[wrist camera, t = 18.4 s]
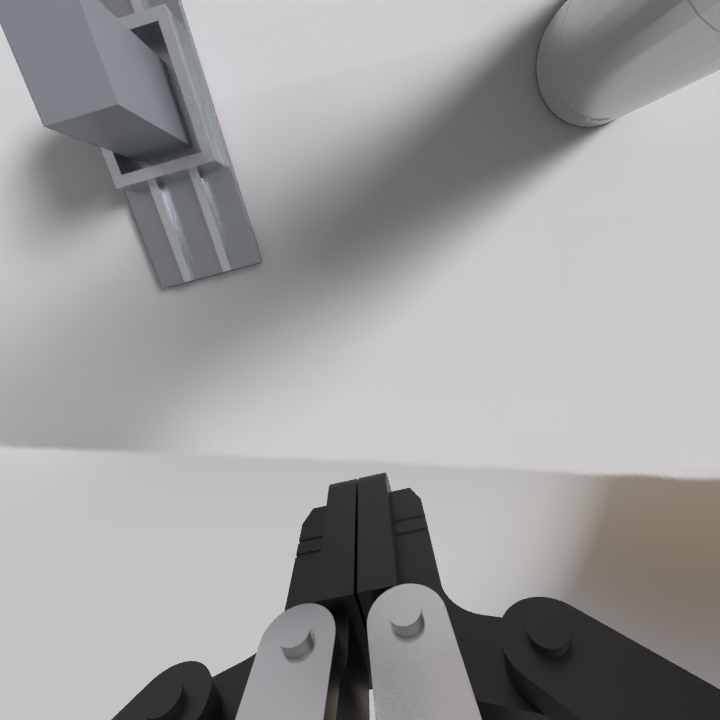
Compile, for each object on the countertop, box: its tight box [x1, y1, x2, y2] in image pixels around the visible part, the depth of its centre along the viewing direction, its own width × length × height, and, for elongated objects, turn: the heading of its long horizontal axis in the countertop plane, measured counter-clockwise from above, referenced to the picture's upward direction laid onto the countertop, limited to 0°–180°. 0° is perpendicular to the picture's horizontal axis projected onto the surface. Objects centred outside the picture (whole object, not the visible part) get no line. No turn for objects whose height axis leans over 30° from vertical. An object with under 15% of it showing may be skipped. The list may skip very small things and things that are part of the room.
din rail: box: [98, 0, 262, 288], centre depth 30 cm, size 26×9×3 cm, turn 14°
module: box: [0, 0, 191, 161], centre depth 26 cm, size 6×5×10 cm
